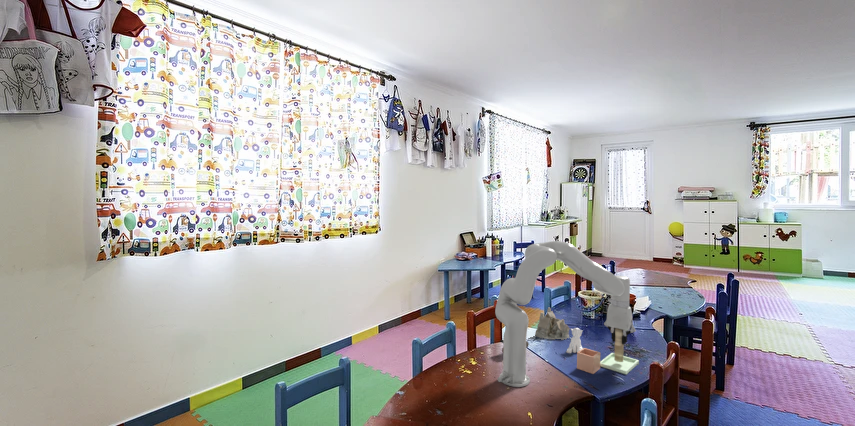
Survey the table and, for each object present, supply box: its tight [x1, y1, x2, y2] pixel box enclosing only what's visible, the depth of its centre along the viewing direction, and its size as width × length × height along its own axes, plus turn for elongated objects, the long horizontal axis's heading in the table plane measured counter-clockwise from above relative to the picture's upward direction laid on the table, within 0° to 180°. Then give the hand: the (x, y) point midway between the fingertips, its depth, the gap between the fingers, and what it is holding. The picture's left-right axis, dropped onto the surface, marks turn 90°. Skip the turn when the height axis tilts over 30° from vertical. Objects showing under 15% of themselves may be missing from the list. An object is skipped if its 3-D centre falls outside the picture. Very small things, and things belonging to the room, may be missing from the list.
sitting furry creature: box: [565, 327, 584, 354], centre depth 191 cm, size 10×9×12 cm
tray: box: [600, 352, 640, 376], centre depth 176 cm, size 16×12×2 cm
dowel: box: [614, 328, 625, 362], centre depth 175 cm, size 4×4×15 cm
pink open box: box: [576, 347, 601, 375], centre depth 172 cm, size 7×7×8 cm
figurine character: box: [499, 339, 529, 353], centre depth 191 cm, size 7×8×15 cm
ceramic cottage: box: [534, 307, 571, 341], centre depth 213 cm, size 16×16×15 cm
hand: (619, 342), depth 175 cm, fingers closed on dowel, 3 cm apart
